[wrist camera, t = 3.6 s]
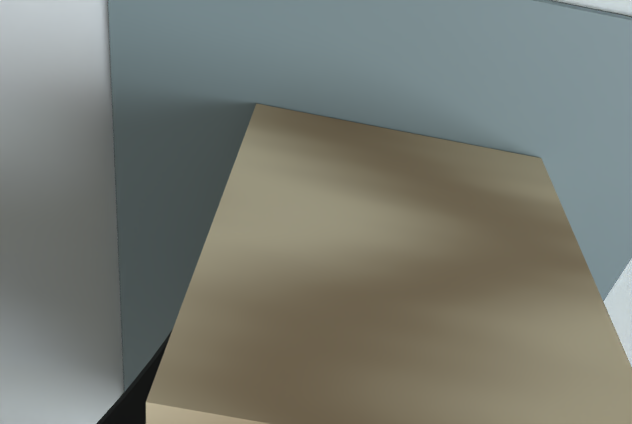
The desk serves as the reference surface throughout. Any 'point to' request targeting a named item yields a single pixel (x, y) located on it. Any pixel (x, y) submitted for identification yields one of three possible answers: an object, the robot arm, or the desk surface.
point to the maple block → (388, 290)
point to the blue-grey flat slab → (355, 112)
